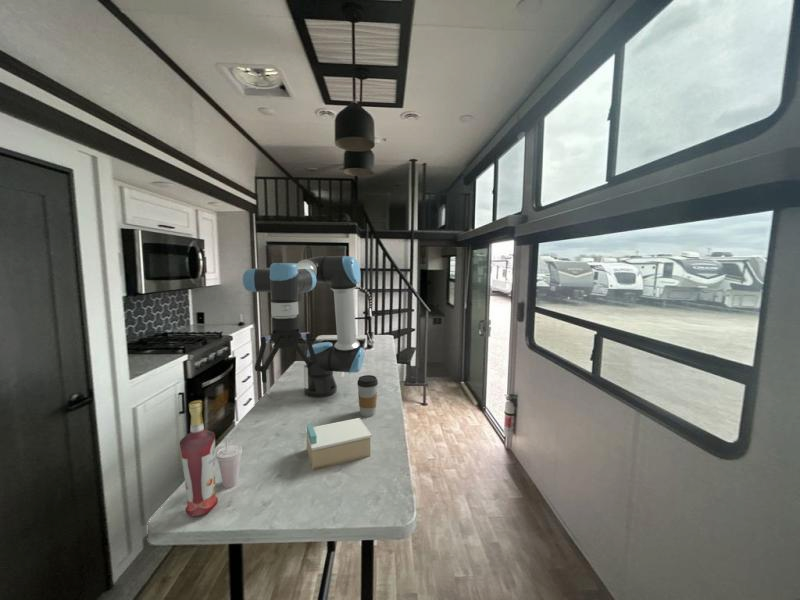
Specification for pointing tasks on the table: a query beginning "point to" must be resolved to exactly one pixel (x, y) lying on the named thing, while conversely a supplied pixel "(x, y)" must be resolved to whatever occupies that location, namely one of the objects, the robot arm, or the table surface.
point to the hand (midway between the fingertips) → (287, 389)
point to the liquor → (199, 464)
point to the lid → (336, 433)
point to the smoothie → (229, 464)
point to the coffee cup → (367, 395)
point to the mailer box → (338, 453)
